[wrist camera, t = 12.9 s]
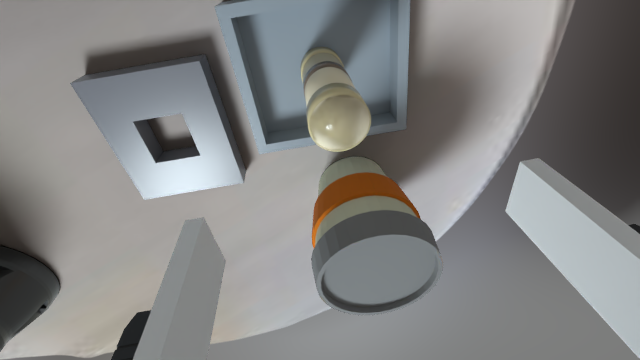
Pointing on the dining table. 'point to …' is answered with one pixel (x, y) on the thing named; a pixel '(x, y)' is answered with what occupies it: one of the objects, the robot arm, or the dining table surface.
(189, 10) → the dining table surface
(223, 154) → the block
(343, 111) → the cylinder
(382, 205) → the reusable coffee cup
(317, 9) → the parts tray
